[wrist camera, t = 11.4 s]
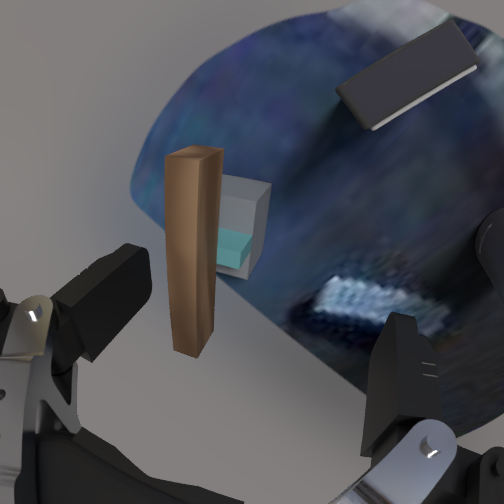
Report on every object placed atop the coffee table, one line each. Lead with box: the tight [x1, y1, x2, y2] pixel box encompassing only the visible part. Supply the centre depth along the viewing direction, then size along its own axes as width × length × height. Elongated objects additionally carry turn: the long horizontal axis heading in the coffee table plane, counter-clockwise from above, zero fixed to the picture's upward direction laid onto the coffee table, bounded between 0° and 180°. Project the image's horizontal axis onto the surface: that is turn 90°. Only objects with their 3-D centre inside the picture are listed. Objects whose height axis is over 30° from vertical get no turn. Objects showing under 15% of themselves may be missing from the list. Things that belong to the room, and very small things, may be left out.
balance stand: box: [216, 174, 272, 280], centre depth 37 cm, size 8×10×11 cm
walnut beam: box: [165, 145, 224, 358], centre depth 30 cm, size 3×22×5 cm, turn 174°
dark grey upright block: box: [335, 20, 480, 131], centre depth 22 cm, size 11×4×15 cm, turn 130°
